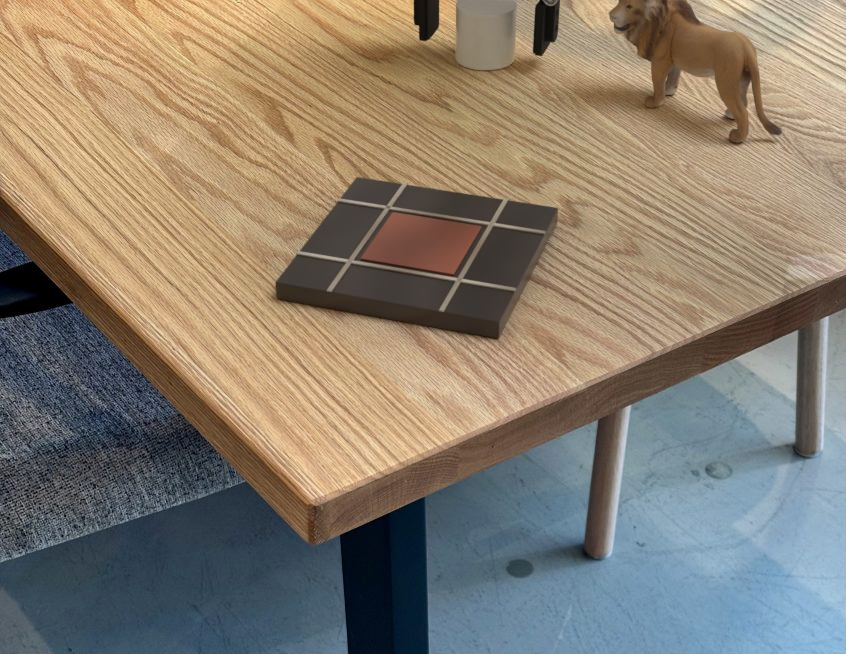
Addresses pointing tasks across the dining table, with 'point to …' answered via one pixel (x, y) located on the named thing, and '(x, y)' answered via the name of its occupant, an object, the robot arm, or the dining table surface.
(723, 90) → the lion figurine
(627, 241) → the dining table surface
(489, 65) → the white plastic cylinder
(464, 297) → the board
